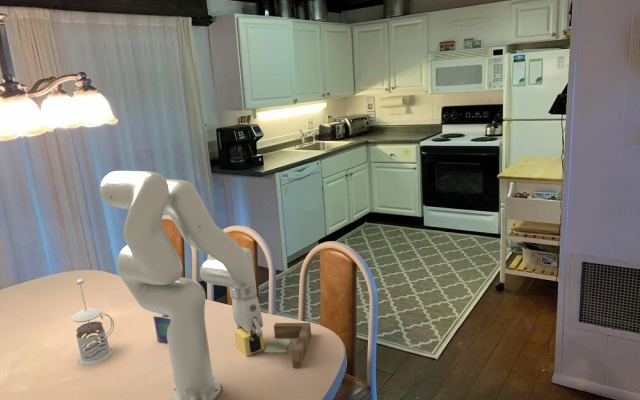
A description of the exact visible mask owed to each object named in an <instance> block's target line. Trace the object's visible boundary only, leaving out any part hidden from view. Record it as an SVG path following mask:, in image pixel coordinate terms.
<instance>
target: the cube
mask: <svg viewBox="0 0 640 400" xmlns="http://www.w3.org/2000/svg"><path fill="white" fill-rule="evenodd" d="M253 328H254V326H253V327H252V328H251V329H253ZM255 332H256V331H252V335H253V334H254V333H255ZM234 337H235V343H236V344H235V346H236V349H237V350H238V351H239V352H240V353H241V354H242V355H244V356H245V357H246V358H248V356H249V357H250V356H251V355H254V354H257V353H259V352H261V351H263V350H265V342H264V333H263V332H262V334H261V336H260V344H261V349H260V350H258V351H256V352H253V353H252V352H251V351H250V343H249V340H250V336H249V333H248V331H246V330H245V329H244V328H240V329H234Z"/></svg>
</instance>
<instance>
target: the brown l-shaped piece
mask: <svg viewBox="0 0 640 400" xmlns="http://www.w3.org/2000/svg"><path fill="white" fill-rule="evenodd" d="M311 328H312V327H311V322H275V323H274V324H273V331H274V339H269V340H268V341H267V344H266V346H265V347H264V349H263V350H264V351H263V353H274V354H275V353H277V354H279V353H280V354H281V353H282V354H283V353H284V354H285V353H287V351H288V349H289V346H290V343H291V339H296V342H295V345H294V348H293V351H292V353H291V361H292V362H291V363H292V368H293V369H301V367H302V364H303V360H304V358H305V356H306V352H307V348H308V345H309V342H310V340H309V339H311V337H312V329H311ZM310 336H311V337H310Z"/></svg>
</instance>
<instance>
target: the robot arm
mask: <svg viewBox="0 0 640 400" xmlns="http://www.w3.org/2000/svg"><path fill="white" fill-rule="evenodd" d="M99 191H100V196H101V198H102V199H103V201H104V202H105V203H106V204H107V205H109V206H111V207H114V208H116V209H117V208H118V209H124V210H128V212H127V215H126V218H125V222H124V226H123V233H122V235H123V239H124V241H125V244H126V245H125V246H124V247H122V249H121V250H120V251H119V254H118V256H117V261H116V265H117V267H116V268H117V270H118V274H119V277H120V279H121V280H122V281H123V283H124V284H125V286H126V288H127V289H128V290H129V292H130V293H131V295H132V296H133V297H134V299H135V301H136V302H137V303H138V305H140V307H141V308H143V309H144V310H146V311H148V312H152V313H155V314H164V315H167V316H169V317H170V319H171V321H170V324H169V327H168V330H167V341H168V344H167V347H168V351H169V352H168V353H169V358H170V362H171V363H170V364H171V368H172V369H171V370H172V374H173V381H174V387H173V389H171V390H172V391H171V392H170V400H216V399H217V397H218V396H219V395H220V393H221V391H222V387H221V386H222V385H221V382H220V380H218V379H217V378H216V377H214V374H213V367H212V360H211V353H210V347H209V339H208V333H207V327H206V326H207V325H206V317H205V315H206V313H205V312H206V311H205V310H206V292H205V289H204V287H203V285H202V284H200V283H199V282H198V281H197V280H194V279H191V278H188V277H182V274H183V264H182V260H181V258H180V256H179V254H178V252H177V250H176V249H175V247H174V245H173V243H172V241H171V240H170V238H169V235H168V234H167V233H166V230H165V228H164V225H163V216H164V214H167V215H169V217H170V219H171V220H172V221H173V223H174V224H175V227H176V228H177V229H178V231H179V234H180V235H181V237H182V238H183V240H184V241H185V243H187V244H188V245H189V246H190V247H192V248H194V249H196V250H198V251H200V252H203V253H204V254H207V255H209V256H210V257H209V258H207V259H206V260H205V261H204V262H203V263H202V264H201V266H200V269H199V274H200V278H201V280H203V281H204V282H205V283H207V284H210V285H216V286H220V287H222V286H223V287H228V288H229V294H230V299H231V303H232V315H233V320H234V322H235V323H236V325H237V326H236V327H237V329H236V330H238V329H240V328H244V329H245V330H246V331H248V333H249V336H250V340H249V343H250V351H251V352H252V353H253V352H256V351H258V350H260V349H261V344H260V336H261V334H262V333H263V330H262V328H263V327H264V323H263V316H262V311H261V305H260V302H259V301H260V300H259V299H258V295H257V294H258V293H257V291H258V290H257V284H256V283H257V282H256V275H255V268H254V267H255V266H254V260H253V252H252V250H251V249H250V248H247V247H242V246H241V245H240V244H239V243H238V242H237V241H236V240H235V239H234V238H233V237H231V236H230V235H229V234H228V233H226V232H225V231H224V230H223V229H222V228H220V227H219V226H218V225H216V224H215V221H214V220H213V218H212V216H211V215H210V213H209V210H208V209H207V207H206V205H205V203H204V201H203V200H202V198H201V196H200V194H199V192H198V190H197V189H196V187H195V186H194V185H193V183H191V182H190V181H187V180H185V179H184V180H183V179H171V178H169V179H167V178H166V177H164V176H163V175H162V174H161V173H158V172H155V171H149V170H115V171H111V172H109V173H108V174H106V175H105V176H104V177H103V179H102V180H101V182H100V187H99ZM253 326H254V328H253V329H251V328H252V327H253ZM252 331H256V332H255V333H254V334H253V335H252ZM256 353H257V352H256Z"/></svg>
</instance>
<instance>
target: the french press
mask: <svg viewBox="0 0 640 400" xmlns="http://www.w3.org/2000/svg"><path fill="white" fill-rule="evenodd" d="M84 283H85V282H84V280H83V279H82V278H79V279H77V280H76V285H80V290H81V294H82V295H81V296H82V301H83V305H84V308H83V309H81V310H79V311H78V312H76V313H75V314H74V315H73V316H72V317H71V320H72V321H73V322H74V323H84V324H82V325H80V326H78V327H77V328H76V331H75V332H76V339H77V340H76V341H77V345H78V348H79V354H80V356H79V358H78V359H77V362H78V361H79V362H80V363H81V364H85V365H84V366H91V364H92V365H96V364H99V363H101V361H102V362H103V360H104V361H106V360H107V359H109V358H110V357H111V356H112V354H113V353H112V352H113V349H112V348H109V347H110V346H109V342H108V337H109V336H110V335H111V334H112V333H113V331H114V329H115V323H114V319H113V318H112V316H110V315H109V314H107V313H103V312H102V309H99V308H95V307H87V308H86V302H85V297H84V292H83V288H82V287H83V286H82V284H84ZM98 317H100V318H101V320H103V319H104V317H108V318H109V319H110V323H111V324H110V328H109V331H107V332H106V331H105V328H104V326H103V322H101V321H92V320H95V319H97V318H98ZM111 330H112V331H111ZM87 336H88V337H87ZM111 349H112V350H111ZM111 353H112V354H111ZM110 355H111V356H110ZM109 356H110V357H109ZM105 359H106V360H105ZM80 363H79V364H80ZM95 363H96V364H95ZM81 364H80V365H81ZM89 364H90V365H89Z"/></svg>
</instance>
